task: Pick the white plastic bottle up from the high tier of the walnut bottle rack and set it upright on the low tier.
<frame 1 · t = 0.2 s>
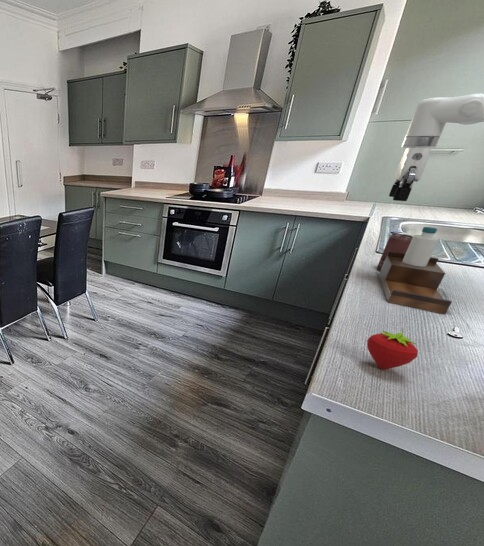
hand: (397, 198, 103), 28 cm above the worktop, tool pointing down, fingers open, 9 cm apart
strawberry: (380, 368, 66), on the worktop
bottle: (414, 263, 102), point 8 cm above the worktop, touching rack
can: (386, 271, 117), on the worktop
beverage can: (411, 269, 119), on the worktop
rack: (407, 292, 100), on the worktop
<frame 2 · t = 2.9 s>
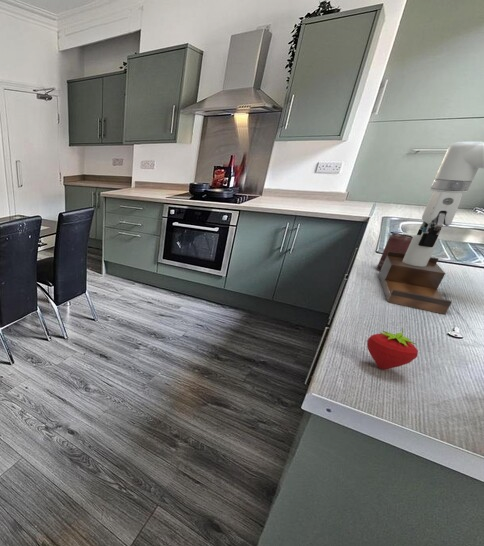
hand: (423, 243, 100), 15 cm above the worktop, tool pointing down, fingers closed on bottle, 5 cm apart
bottle: (414, 263, 102), point 8 cm above the worktop, touching gripper, rack
everything else where it was.
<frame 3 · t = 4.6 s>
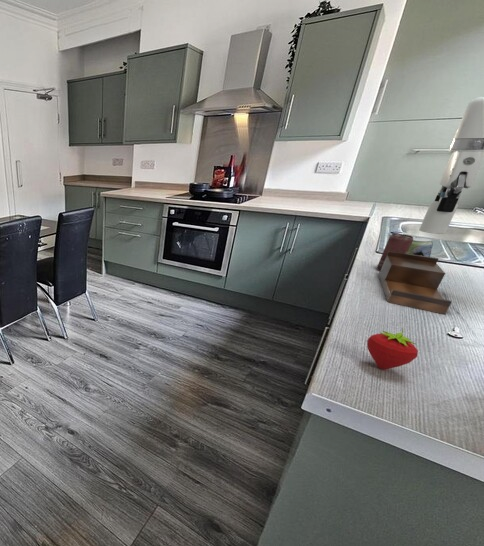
hand: (441, 209, 94), 26 cm above the worktop, tool pointing down, fingers closed on bottle, 5 cm apart
bottle: (431, 231, 97), point 19 cm above the worktop, touching gripper
everything else where it was.
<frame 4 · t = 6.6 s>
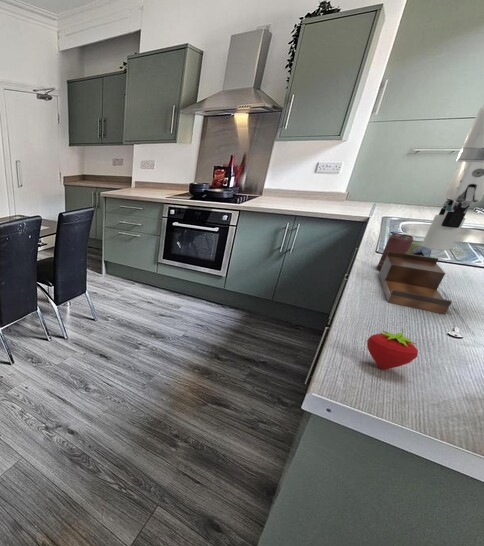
hand: (446, 224, 87), 24 cm above the worktop, tool pointing down, fingers closed on bottle, 5 cm apart
bottle: (435, 247, 89), point 17 cm above the worktop, touching gripper
everything else where it was.
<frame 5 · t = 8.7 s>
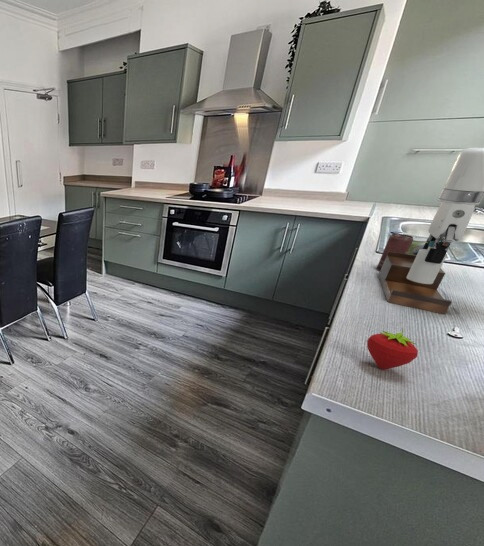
hand: (429, 258, 91), 13 cm above the worktop, tool pointing down, fingers closed on bottle, 5 cm apart
bottle: (419, 280, 93), point 6 cm above the worktop, touching gripper
everything else where it was.
when the fingers open (9 cm above the worktop, at t = 10.2 s): bottle stays where it is, resting on rack.
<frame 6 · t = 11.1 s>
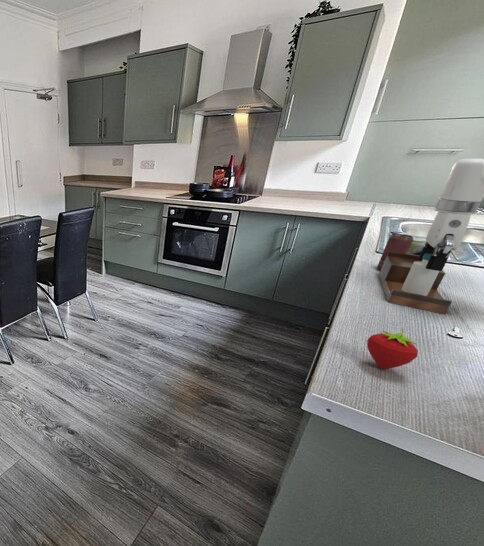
hand: (429, 264, 91), 12 cm above the worktop, tool pointing down, fingers open, 9 cm apart
bottle: (414, 292, 95), point 2 cm above the worktop, touching rack
everything else where it was.
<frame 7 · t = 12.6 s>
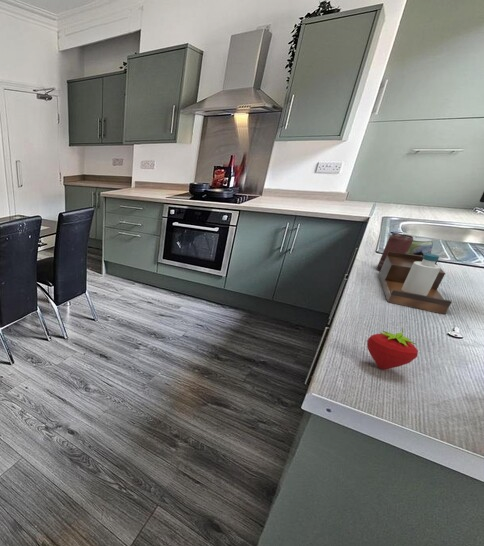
nothing on the worktop moved.
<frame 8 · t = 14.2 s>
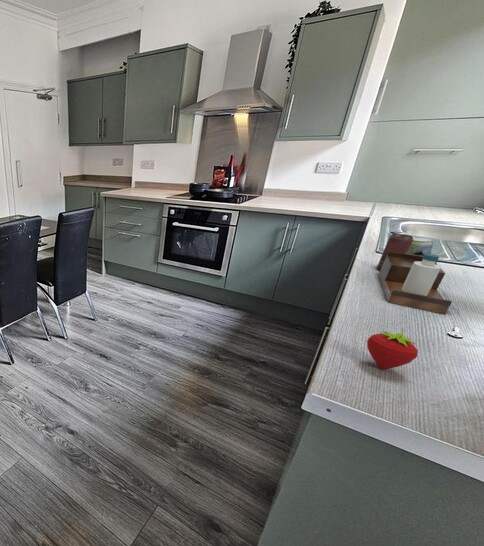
nothing on the worktop moved.
at the end: bottle inside the target area on the rack (0.3 cm from its centre), point 2.5 cm above the rack's base; bottle tilted 0°; the gripper is holding nothing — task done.
